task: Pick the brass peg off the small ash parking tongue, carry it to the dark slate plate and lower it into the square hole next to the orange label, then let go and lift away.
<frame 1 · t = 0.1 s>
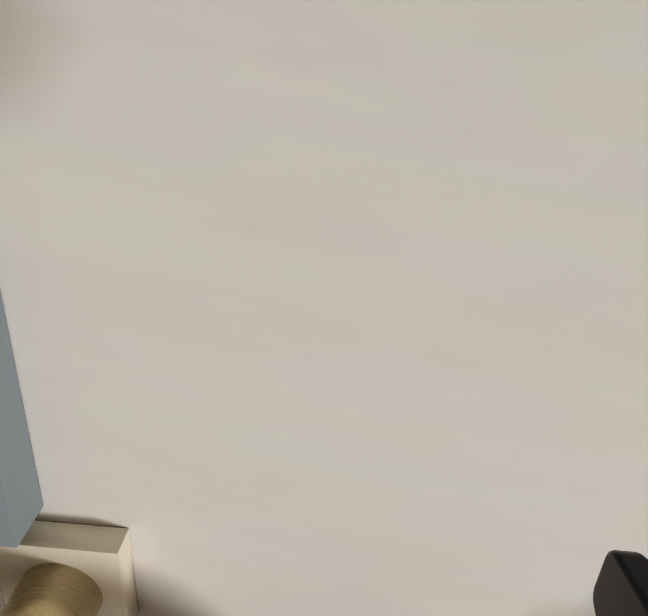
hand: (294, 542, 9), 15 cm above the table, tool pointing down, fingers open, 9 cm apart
brass peg: (61, 592, 30), point 1 cm above the table, touching parking tongue
parking tongue: (74, 566, 31), on the table
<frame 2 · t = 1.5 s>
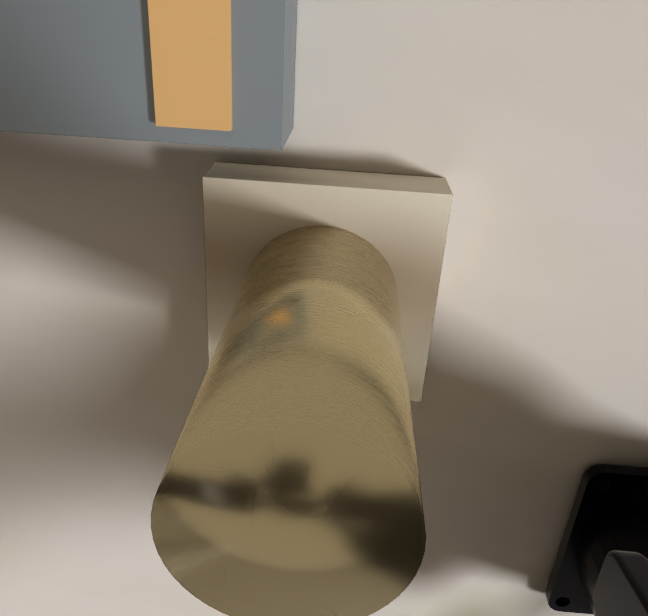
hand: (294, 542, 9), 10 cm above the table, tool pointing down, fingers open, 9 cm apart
brass peg: (320, 298, 16), point 1 cm above the table, touching parking tongue
parking tongue: (323, 275, 17), on the table
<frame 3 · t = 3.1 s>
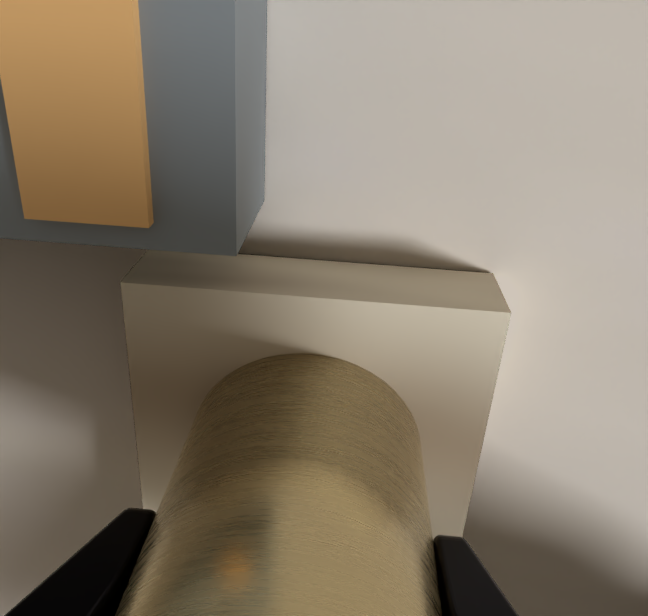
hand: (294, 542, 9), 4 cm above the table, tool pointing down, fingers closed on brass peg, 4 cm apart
brass peg: (305, 451, 11), point 1 cm above the table, touching gripper, parking tongue
parking tongue: (312, 401, 12), on the table
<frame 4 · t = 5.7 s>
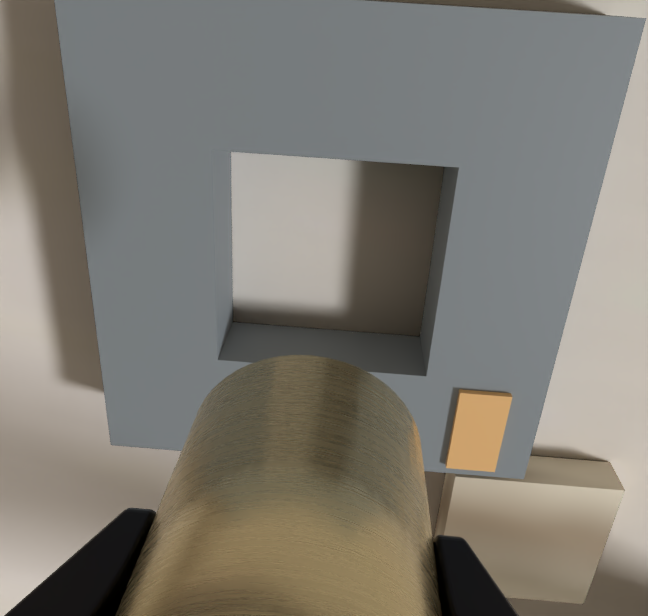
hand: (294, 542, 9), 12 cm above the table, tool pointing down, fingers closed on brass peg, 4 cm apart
hole plate: (331, 241, 20), on the table
brass peg: (305, 453, 11), point 10 cm above the table, touching gripper
parking tongue: (514, 514, 25), on the table
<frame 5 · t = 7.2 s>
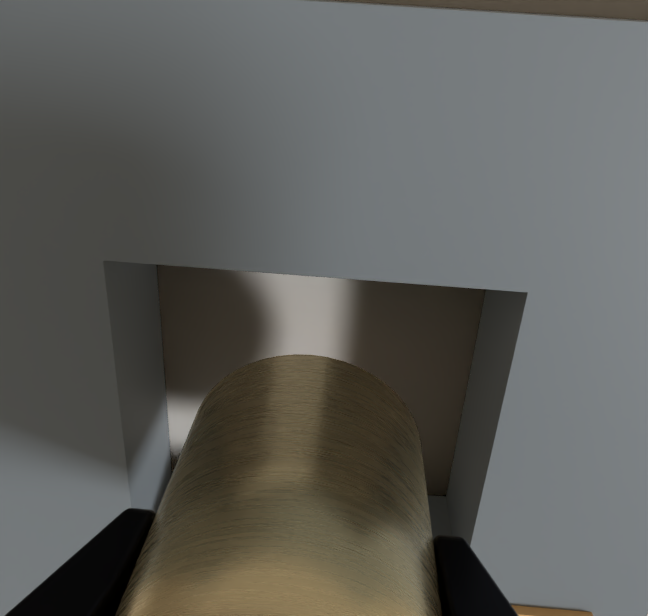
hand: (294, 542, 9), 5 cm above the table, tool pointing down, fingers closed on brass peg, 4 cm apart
hole plate: (314, 368, 13), on the table
brass peg: (305, 453, 11), point 3 cm above the table, touching gripper
when the fingers open (4 cm above the table, at t = 8.2 s): brass peg drops 2 cm, resting in hole plate.
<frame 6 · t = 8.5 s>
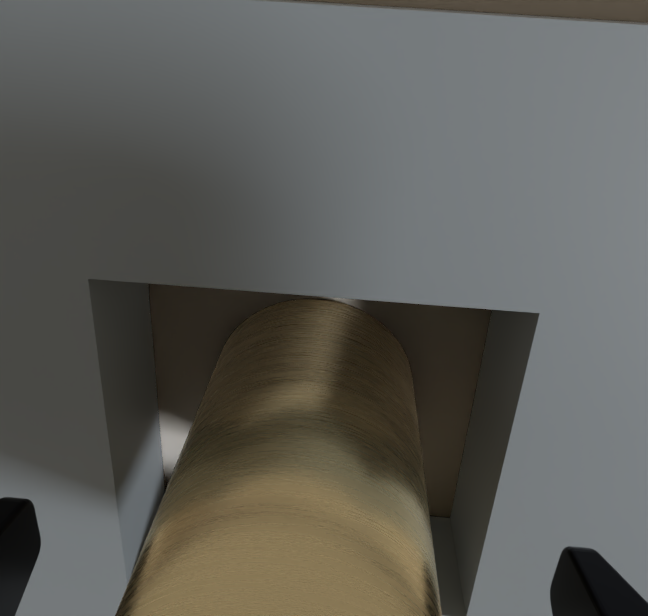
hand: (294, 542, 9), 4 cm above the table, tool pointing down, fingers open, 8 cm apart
hole plate: (313, 386, 13), on the table
brass peg: (313, 386, 13), resting in hole plate
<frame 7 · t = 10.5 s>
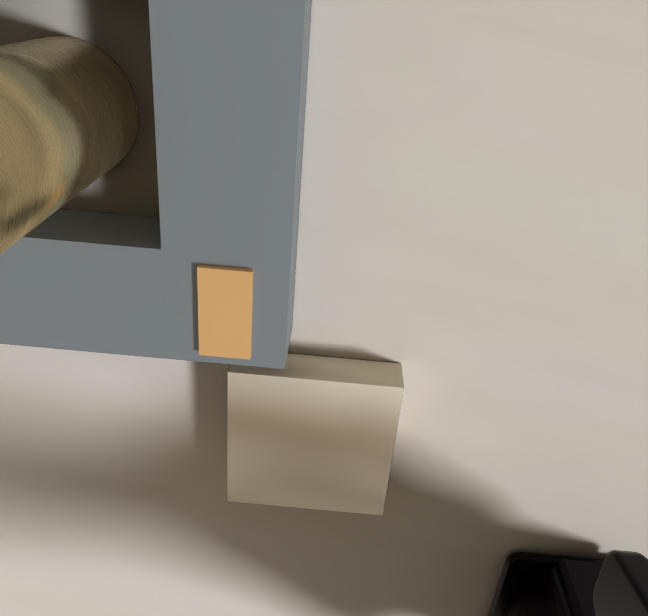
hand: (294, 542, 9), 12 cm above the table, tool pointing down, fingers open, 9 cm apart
hole plate: (71, 107, 19), on the table
brass peg: (72, 108, 19), resting in hole plate
parking tongue: (312, 422, 24), on the table
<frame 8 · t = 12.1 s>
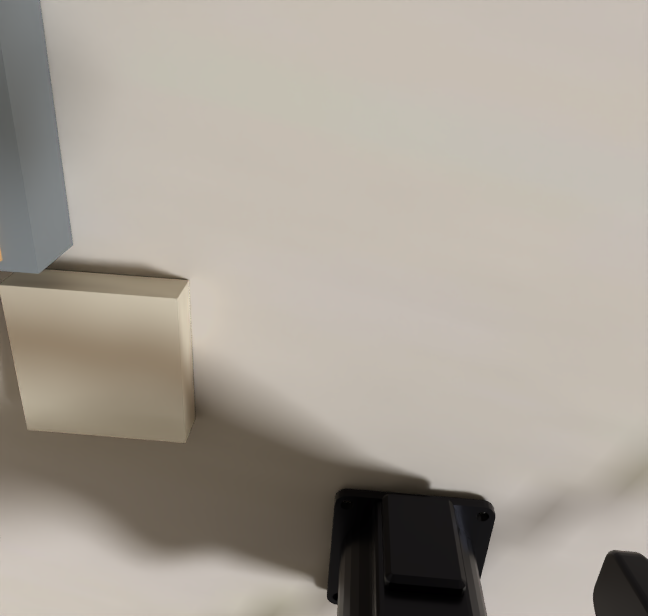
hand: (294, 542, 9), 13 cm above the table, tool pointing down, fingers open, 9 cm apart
parking tongue: (112, 347, 23), on the table
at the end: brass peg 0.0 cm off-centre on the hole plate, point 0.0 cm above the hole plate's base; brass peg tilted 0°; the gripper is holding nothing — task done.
